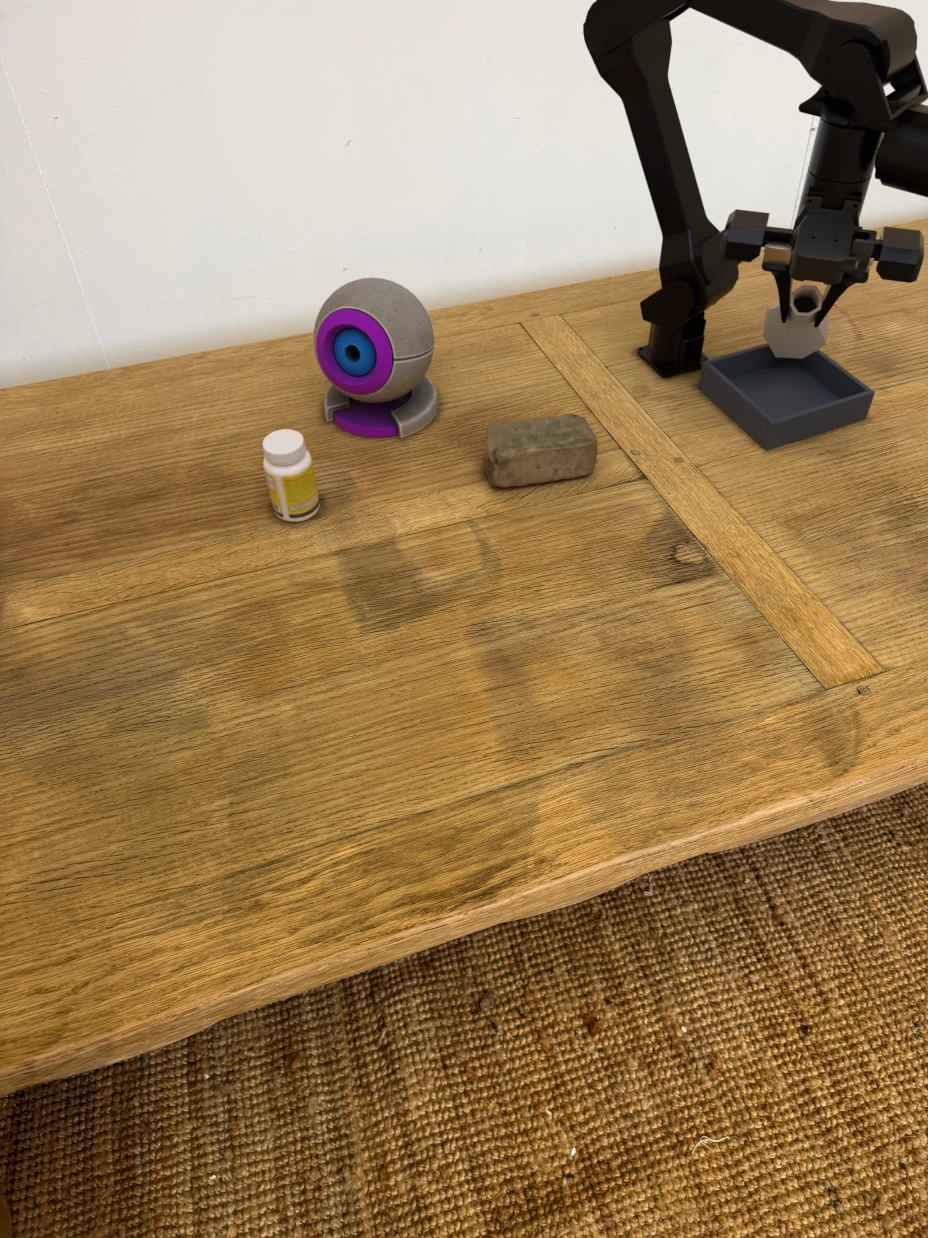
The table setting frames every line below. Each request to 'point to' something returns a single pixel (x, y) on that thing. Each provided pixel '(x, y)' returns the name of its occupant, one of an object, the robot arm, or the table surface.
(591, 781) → the table surface
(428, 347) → the webcam
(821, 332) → the flask
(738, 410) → the dark grey square tray
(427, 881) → the table surface
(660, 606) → the table surface
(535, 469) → the stone block
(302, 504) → the supplement bottle
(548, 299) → the table surface
